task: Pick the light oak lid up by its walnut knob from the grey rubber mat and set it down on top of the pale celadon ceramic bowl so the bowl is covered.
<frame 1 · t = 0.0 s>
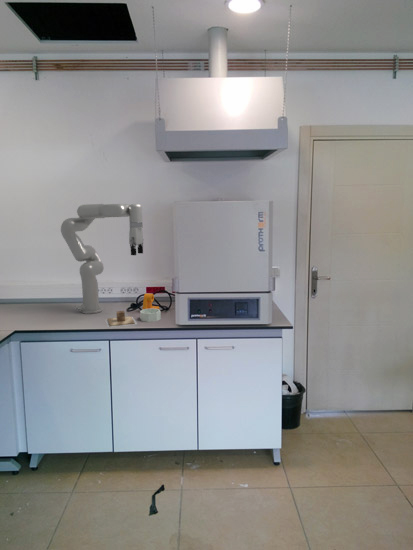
hand: (137, 254, 229), 37 cm above the table, tool pointing down, fingers open, 9 cm apart
bowl: (150, 320, 224), on the table
lid: (120, 321, 218), point 1 cm above the table, touching mat
bracket: (151, 312, 240), on the table
mat: (121, 322, 218), on the table
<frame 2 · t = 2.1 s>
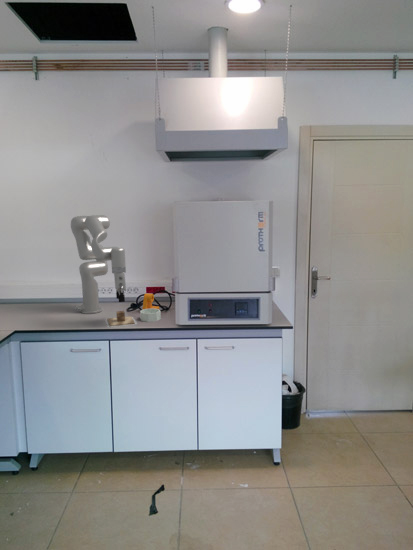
hand: (120, 300, 215), 13 cm above the table, tool pointing down, fingers open, 9 cm apart
nothing on the table moved.
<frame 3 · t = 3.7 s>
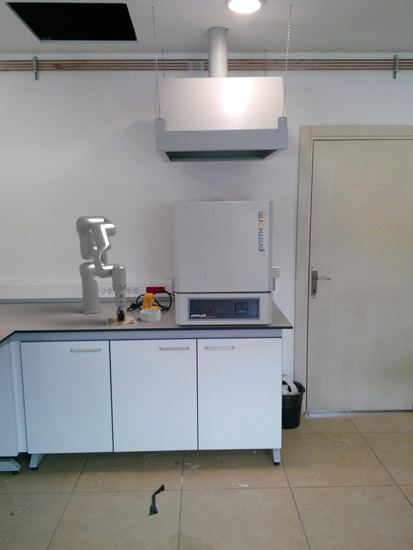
hand: (120, 318, 218), 3 cm above the table, tool pointing down, fingers closed on lid, 4 cm apart
lid: (120, 321, 218), point 1 cm above the table, touching gripper, mat
everything else where it was.
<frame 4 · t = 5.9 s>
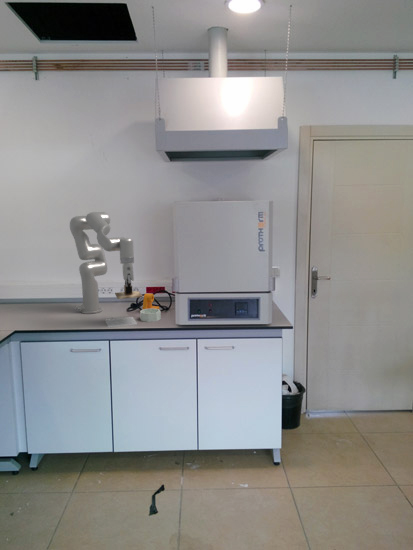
hand: (128, 292, 217), 18 cm above the table, tool pointing down, fingers closed on lid, 4 cm apart
lid: (128, 295, 217), point 16 cm above the table, touching gripper
everything else where it was.
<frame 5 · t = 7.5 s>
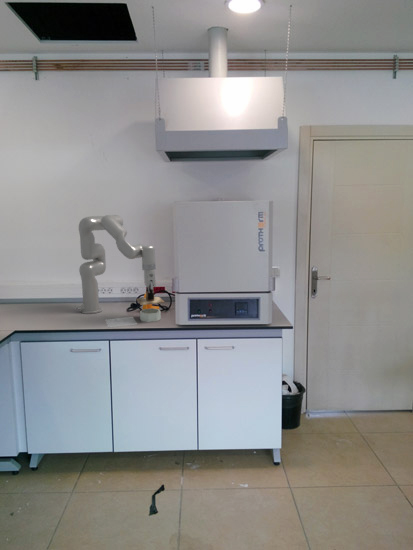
hand: (150, 298, 222), 13 cm above the table, tool pointing down, fingers closed on lid, 4 cm apart
lid: (150, 301, 222), point 11 cm above the table, touching gripper
everything else where it was.
when the fingers open (9 cm above the table, at t = 8.5 s): lid drops 2 cm, resting on bowl.
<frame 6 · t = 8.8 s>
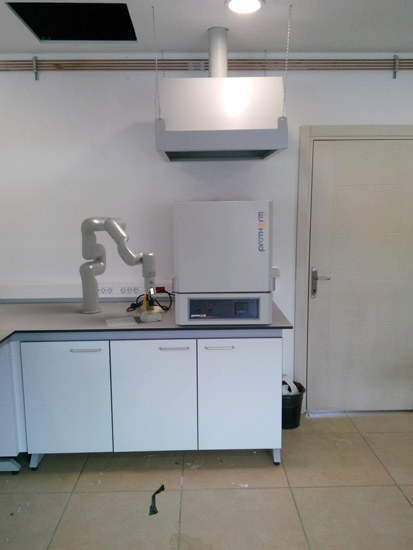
hand: (149, 304, 222), 9 cm above the table, tool pointing down, fingers open, 7 cm apart
bowl: (150, 320, 224), on the table, touching lid
lid: (150, 311, 223), point 5 cm above the table, touching bowl
everything else where it was.
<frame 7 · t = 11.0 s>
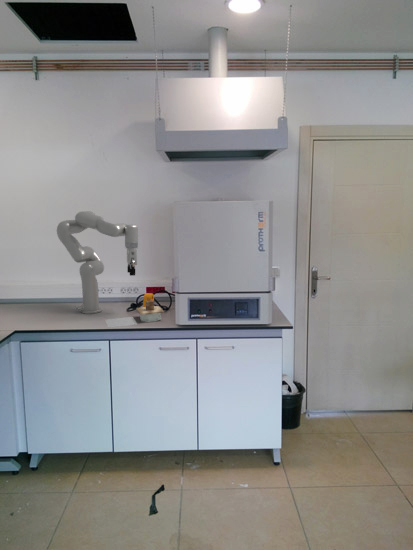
hand: (131, 273, 230), 25 cm above the table, tool pointing down, fingers open, 9 cm apart
bowl: (150, 320, 224), on the table
lid: (150, 310, 223), point 5 cm above the table
everything else where it was.
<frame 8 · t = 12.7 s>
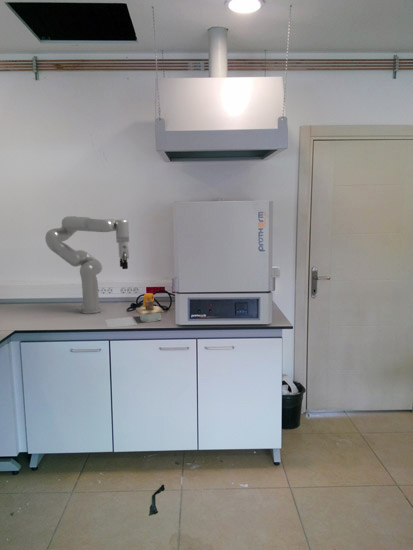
hand: (123, 267, 236), 28 cm above the table, tool pointing down, fingers open, 9 cm apart
bowl: (150, 320, 224), on the table, touching lid
lid: (149, 310, 223), point 5 cm above the table, touching bowl
everything else where it was.
at the end: lid 0.4 cm off-centre on the bowl, point 5.5 cm above the bowl's base; lid tilted 0°; the gripper is holding nothing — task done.
